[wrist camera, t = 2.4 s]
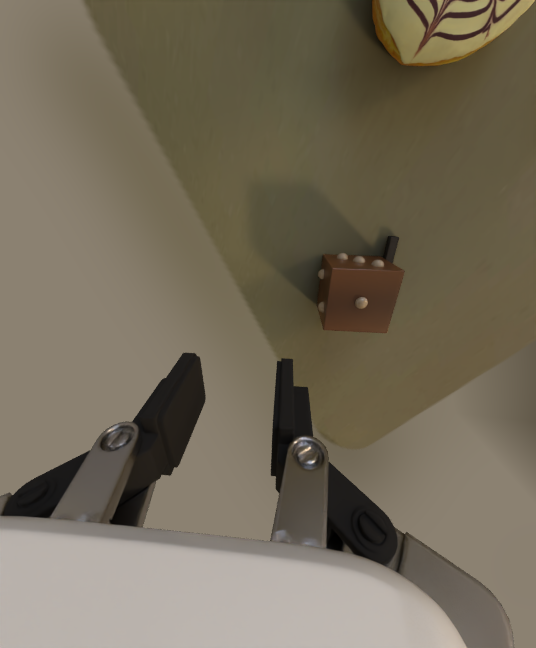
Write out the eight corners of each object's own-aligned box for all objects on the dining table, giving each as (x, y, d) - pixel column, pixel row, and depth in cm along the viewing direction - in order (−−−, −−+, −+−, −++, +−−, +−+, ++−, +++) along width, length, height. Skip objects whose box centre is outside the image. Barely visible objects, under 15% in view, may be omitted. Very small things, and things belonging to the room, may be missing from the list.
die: (318, 249, 25) (327, 263, 19) (381, 251, 25) (409, 266, 19) (312, 305, 28) (318, 332, 22) (368, 308, 28) (389, 336, 22)
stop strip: (388, 236, 24) (391, 237, 23) (396, 236, 24) (399, 237, 23) (367, 323, 29) (369, 326, 28) (373, 323, 29) (376, 326, 28)
